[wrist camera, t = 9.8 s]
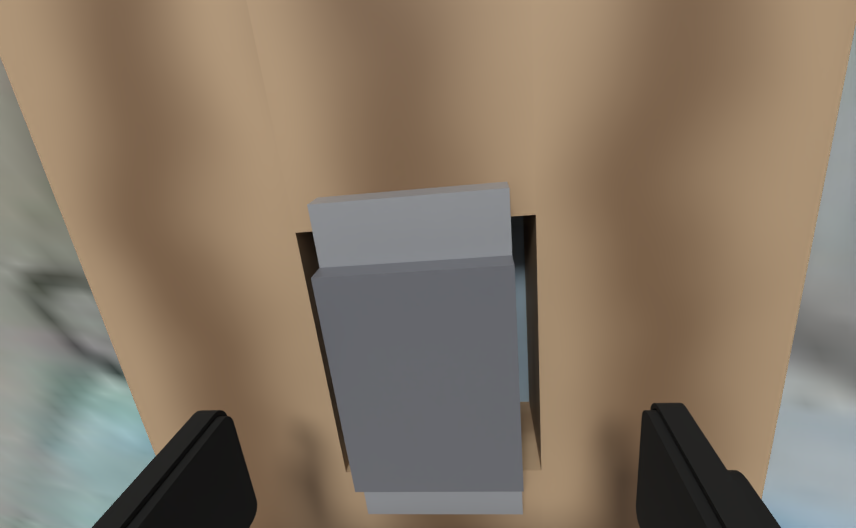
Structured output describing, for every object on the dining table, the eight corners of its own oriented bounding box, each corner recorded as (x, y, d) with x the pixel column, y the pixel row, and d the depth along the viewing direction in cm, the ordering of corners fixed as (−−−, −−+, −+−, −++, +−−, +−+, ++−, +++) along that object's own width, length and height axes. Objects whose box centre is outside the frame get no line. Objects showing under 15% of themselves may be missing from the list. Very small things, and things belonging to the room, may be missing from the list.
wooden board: (766, -85, 12) (891, -158, 9) (688, 518, 20) (738, 616, 16) (98, 11, 15) (-28, -14, 11) (255, 516, 22) (212, 601, 19)
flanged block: (499, 161, 15) (511, 193, 10) (512, 422, 18) (525, 534, 14) (350, 174, 15) (297, 211, 11) (390, 424, 19) (363, 533, 14)
